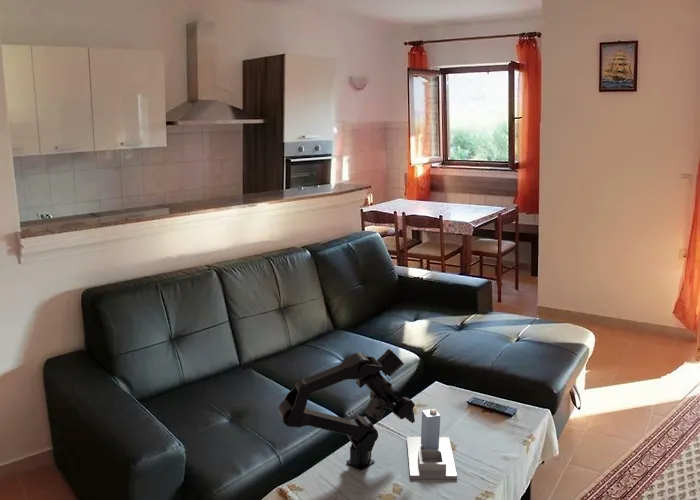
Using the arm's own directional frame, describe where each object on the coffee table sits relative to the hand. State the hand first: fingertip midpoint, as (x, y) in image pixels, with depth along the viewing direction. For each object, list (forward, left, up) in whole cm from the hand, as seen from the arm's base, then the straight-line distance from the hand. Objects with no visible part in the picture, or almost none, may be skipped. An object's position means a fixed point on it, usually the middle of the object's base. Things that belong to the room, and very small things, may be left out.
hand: (405, 417), depth 206 cm
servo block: (+6, -5, -11) cm, 14 cm away
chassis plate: (+3, -8, -13) cm, 15 cm away
